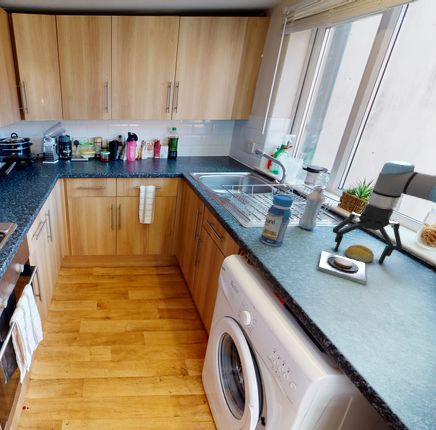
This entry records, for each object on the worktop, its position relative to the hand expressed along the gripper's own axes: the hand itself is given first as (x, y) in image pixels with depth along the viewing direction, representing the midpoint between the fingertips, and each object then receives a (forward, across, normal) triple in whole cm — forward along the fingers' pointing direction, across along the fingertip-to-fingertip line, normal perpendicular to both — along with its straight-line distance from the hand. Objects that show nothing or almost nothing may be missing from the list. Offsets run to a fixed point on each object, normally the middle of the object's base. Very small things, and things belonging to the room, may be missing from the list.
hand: (357, 255), depth 110 cm
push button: (0, +5, +14) cm, 15 cm away
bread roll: (0, 0, 0) cm, 0 cm away
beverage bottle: (0, +29, +9) cm, 30 cm away
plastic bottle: (0, +19, -15) cm, 24 cm away
